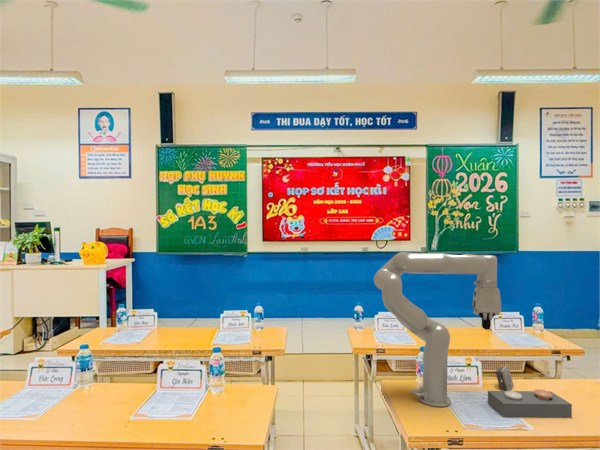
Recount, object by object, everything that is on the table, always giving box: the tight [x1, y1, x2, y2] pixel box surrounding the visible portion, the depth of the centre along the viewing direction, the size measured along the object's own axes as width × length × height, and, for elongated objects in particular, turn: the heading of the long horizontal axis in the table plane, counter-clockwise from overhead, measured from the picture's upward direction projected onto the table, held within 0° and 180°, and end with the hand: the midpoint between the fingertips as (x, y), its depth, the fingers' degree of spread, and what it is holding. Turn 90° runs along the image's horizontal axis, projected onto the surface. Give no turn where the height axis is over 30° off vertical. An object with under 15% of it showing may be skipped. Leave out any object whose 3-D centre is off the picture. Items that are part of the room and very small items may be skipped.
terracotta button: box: [533, 389, 553, 400], centre depth 155 cm, size 6×6×5 cm
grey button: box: [504, 390, 522, 400], centre depth 155 cm, size 6×6×5 cm
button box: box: [487, 390, 573, 419], centre depth 155 cm, size 26×12×5 cm, turn 92°
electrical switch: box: [495, 364, 514, 391], centre depth 177 cm, size 9×5×9 cm, turn 141°
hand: (486, 328), depth 165 cm, fingers closed
